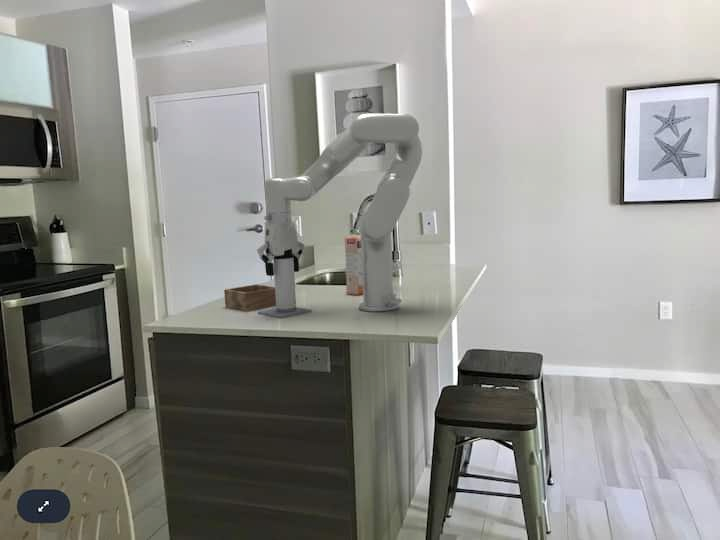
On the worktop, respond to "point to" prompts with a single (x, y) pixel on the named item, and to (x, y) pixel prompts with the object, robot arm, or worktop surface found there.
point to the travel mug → (284, 282)
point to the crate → (250, 297)
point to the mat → (284, 314)
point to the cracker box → (354, 265)
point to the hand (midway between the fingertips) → (282, 273)
